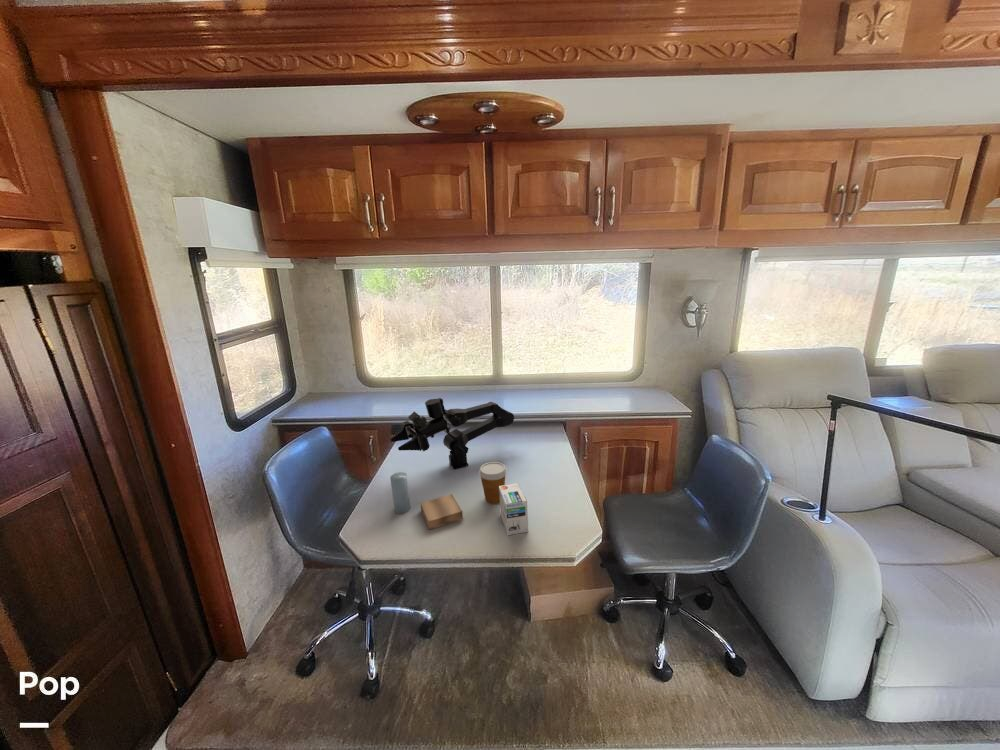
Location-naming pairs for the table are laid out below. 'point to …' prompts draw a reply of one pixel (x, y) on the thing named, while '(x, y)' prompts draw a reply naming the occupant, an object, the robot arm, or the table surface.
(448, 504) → the walnut base
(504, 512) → the light bulb box
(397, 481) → the slate canister
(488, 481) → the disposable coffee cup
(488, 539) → the table surface
